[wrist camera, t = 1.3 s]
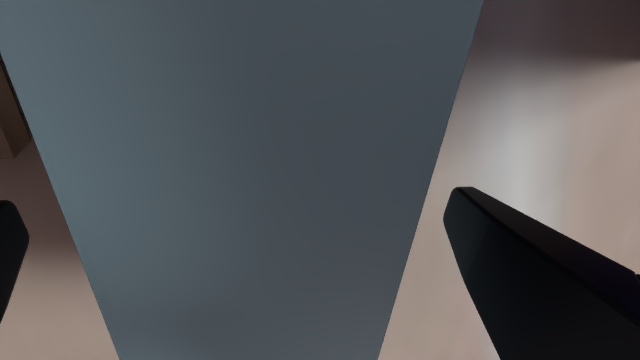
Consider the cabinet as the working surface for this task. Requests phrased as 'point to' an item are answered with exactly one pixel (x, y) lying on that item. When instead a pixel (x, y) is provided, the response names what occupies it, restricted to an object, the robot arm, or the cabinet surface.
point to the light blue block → (240, 161)
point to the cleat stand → (10, 122)
